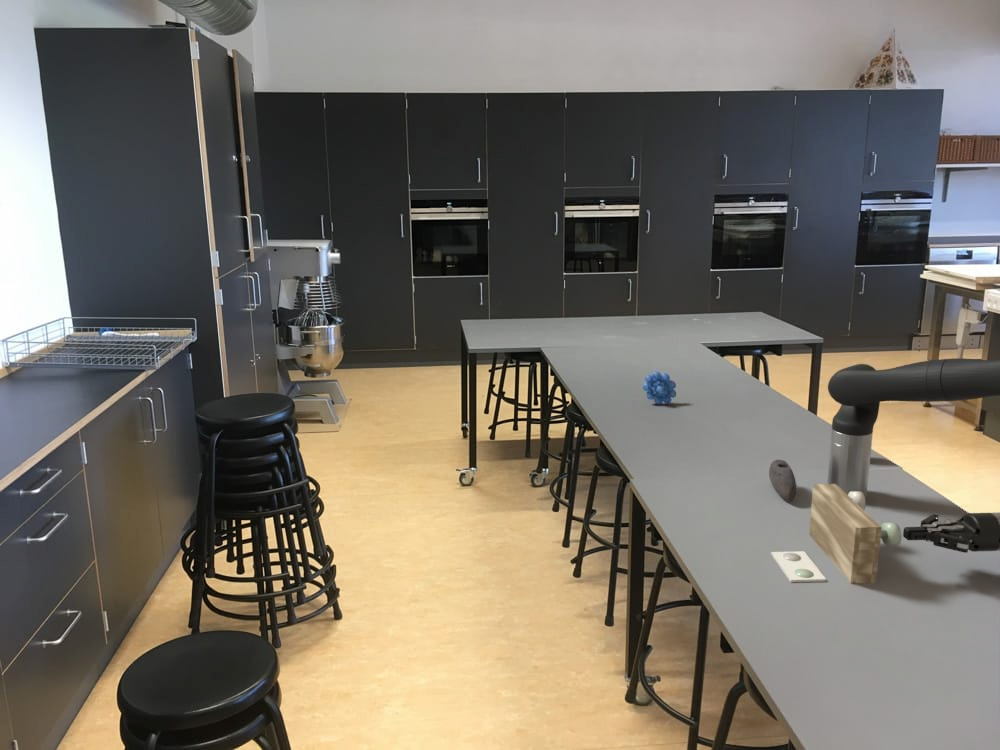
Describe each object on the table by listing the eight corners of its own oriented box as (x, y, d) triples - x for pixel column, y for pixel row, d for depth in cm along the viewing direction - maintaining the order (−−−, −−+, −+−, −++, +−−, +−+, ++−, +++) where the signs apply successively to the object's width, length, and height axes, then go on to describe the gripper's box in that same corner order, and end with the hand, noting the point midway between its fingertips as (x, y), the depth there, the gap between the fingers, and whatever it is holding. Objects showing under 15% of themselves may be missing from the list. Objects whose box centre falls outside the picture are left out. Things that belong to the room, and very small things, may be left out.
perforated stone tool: (800, 507, 196) (802, 480, 194) (778, 506, 197) (780, 479, 195) (787, 483, 210) (789, 458, 208) (766, 482, 211) (768, 457, 209)
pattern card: (771, 554, 173) (771, 551, 172) (803, 553, 172) (804, 550, 172) (790, 582, 161) (790, 579, 161) (825, 581, 161) (826, 578, 161)
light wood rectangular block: (831, 533, 181) (835, 483, 178) (875, 582, 160) (881, 527, 157) (809, 534, 181) (813, 484, 178) (850, 583, 160) (855, 527, 157)
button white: (855, 506, 179) (857, 488, 178) (864, 515, 174) (866, 496, 173) (830, 507, 179) (831, 488, 178) (838, 515, 174) (839, 496, 173)
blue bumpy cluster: (643, 408, 277) (644, 374, 274) (641, 402, 284) (642, 369, 281) (678, 408, 276) (679, 374, 273) (675, 402, 283) (676, 369, 280)
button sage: (889, 539, 163) (891, 519, 162) (900, 549, 159) (902, 528, 158) (861, 539, 163) (863, 519, 162) (871, 549, 159) (873, 529, 158)
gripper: (975, 500, 166) (891, 502, 166) (1015, 528, 153) (924, 531, 153) (970, 534, 168) (887, 536, 168) (1010, 564, 155) (920, 566, 155)
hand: (905, 533), depth 160 cm, fingers closed
